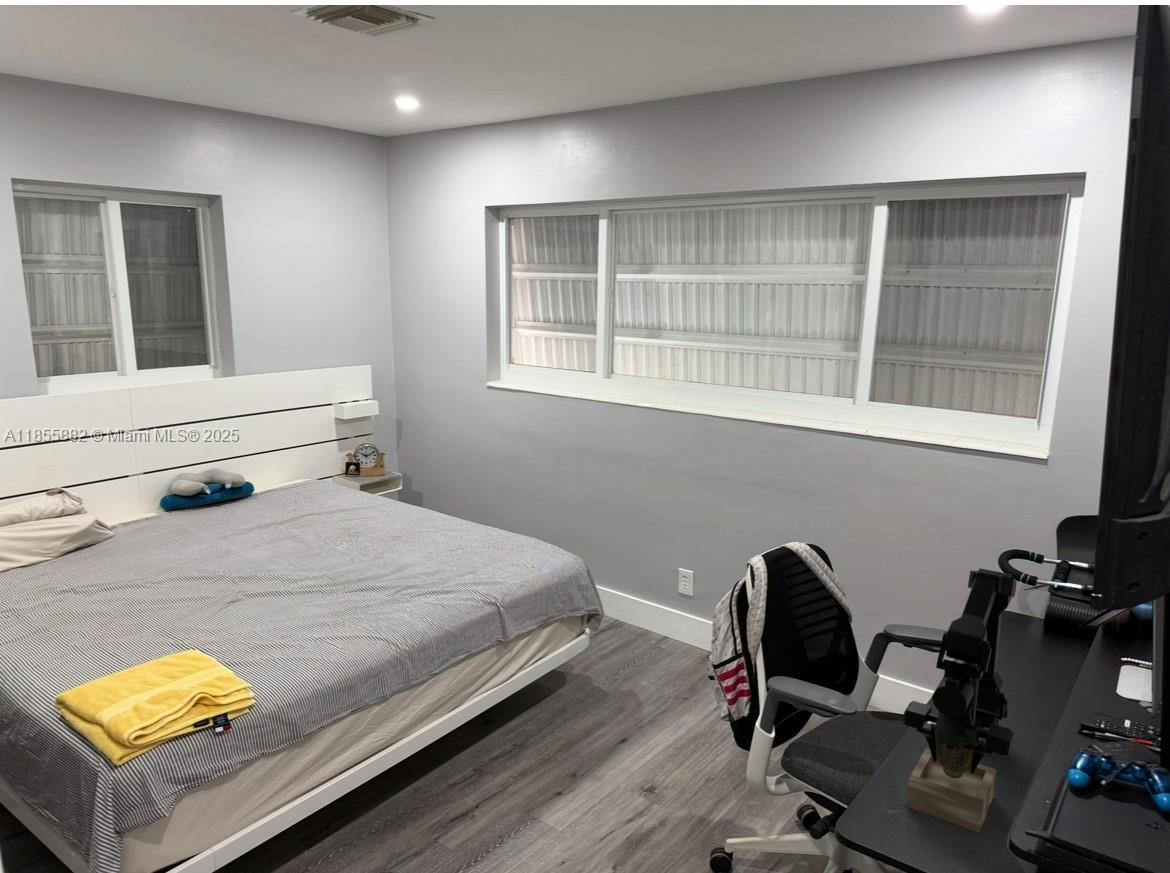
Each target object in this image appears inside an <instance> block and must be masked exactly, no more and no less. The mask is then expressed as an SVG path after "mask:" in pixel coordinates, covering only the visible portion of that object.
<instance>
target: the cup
mask: <svg viewBox="0 0 1170 873" xmlns="http://www.w3.org/2000/svg"><path fill="white" fill-rule="evenodd" d="M977 744H978V743H977V740H976V742H975V745H972V744H968V745H965V744H964V746H963V748H961V749H955V748H953V747H951V746H948V745H945V744H940V743H938V742H937V741H936V754H937V758H938V761H939V762H940V764H941V765H942V766H943V771H944V773H945V774H946V775H947V776H949V777H951V778H960V777H962V776H963V774H964V771H966V770H968V769H969V768H970V767H971V765H972V762H973V758H974V754H975V748H976V746H977Z"/></svg>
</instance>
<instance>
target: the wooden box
mask: <svg viewBox="0 0 1170 873" xmlns="http://www.w3.org/2000/svg"><path fill="white" fill-rule="evenodd" d="M971 766H972V765H971ZM996 775H997V769H995V768H993V767H992V768H991V767H989V766H986V765H983V764H981V763H980V764H978V766H977V768H976V769H975V771H974V773H973V774H971V767H970V768H969V769H968V770H966V771H964V774H963V776H962V777H960V778H951V777H949V776H947V775H946V774H945V773H944V771H943V766H942V765H941V764H940V762H939V761H938V758H937V761H936V762H934V761H933V758H932V754H931V751H930V748H929V747H927V746H926V747H925V749H924V751H923V753H922V754H921V756H920V758H919V760H918V761H917V763H916V765H915V767H914V769H913V770H912V772H911V774H910V775H909V777H908V784H907V785H908V786H907V795H906V796H907V797H906V807H908V808H910V809H913V810H915V811H918V812H921V813H924V814H926V815H929V816H931V817H935V818H938V819H940V820H942V821H945V822H948V823H951V824H954V825H956V826H958V827H962V828H965V829H967V830H969V831H973V832H975V833H978V834H980V833H981V830H982V828H983V826H984V822H985V820H986V817H987V814H988V812H989V809H990V806H991V804H992V801H993V799H994V795H995V786H996V785H995V784H996Z"/></svg>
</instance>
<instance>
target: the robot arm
mask: <svg viewBox="0 0 1170 873" xmlns="http://www.w3.org/2000/svg"><path fill="white" fill-rule="evenodd" d="M1017 583H1018V582H1017V580H1016V579H1015V578H1014V576H1012V574H1011V573H1006V572H1001V571H996V570H992V569H991V570H990V569H986V568H978V570H970V572H969V577H968V583H967V588H969V589H970V592H969V594H968V597H967V600H966V601H965V602H966V603H965V605H964V608H963V611H962V614H961V616H960V617H958V618H957V619H954V620H952V621H951V622H950V625H949V626H948V627H949V628H947V631H944V632H943V635H942V637H941V638H942V639H941V643H940V648H939V652H938V656H937V661H936V666H935V668H936V669H940V670H943V671H944V673H943V677H942V679H941V680H940V682H939V684H938V685H937V687H936V688H935V690H934V691H933V694H932V703H933V706H934V707H935V709H936V710H937V711H938V714H935V713H932V709H933V707H932V705H929V704H925V703H923V702H920V701H916V700H912V701H911V702H909V704H908V705H907V707H906V708H905V709H904V712H903V717H902V718H903V719H902V723H903V725H905V726H908V727H911V728H914V729H916V731H917V732H918V733H919V734H920V733H921V734H922V735H923V736H924V737H925V739H926V743H927V744H928V748H930V751H931V754H932V758H933V761H934V762H936V761H937V754H936V741H937V742H938V743H940V744H945V745H948V746H951V747H953V748H955V749H961V748H963V746H964V744H965V745H968V744H972V745H975V742H976V740H977V743H978V744H977V746H976V748H975V754H974V758H973V762H972V766H971V774H973V773H974V771H975V769H976V768H977V766H978V764H979V763H980V762H981V760H982V759H983V758H984V757H985V756H986V755H993V754H997V755H1001V756H1004V757H1006V756H1009V755H1010V752H1011V750H1012V747H1013V745H1014V740H1015V733H1014V731H1013V730H1012V729H1011V728H1007V727H1004V726H1001V725H999V721H1002V720H1003V719H1008V716H1009V700H1007V695H1006V693H1005V692H1004V681H1003V678H1001V676H1000V674H999V672H998V671H997V670H998V669H997V667H998V661H999V660H998V658H999V648H1000V647H999V646H1000V637H1001V629H1002V628H1001V626H1002V618H1003V617H1002V614H1003V612H1004V611H1005V610H1006V609H1007V608H1008V607H1009V605H1010V603H1011V601H1012V598H1014V597H1015V596H1016V592H1017V591H1016V590H1017V585H1018V584H1017ZM945 656H946V658H949V659H953V660H949V659H944V658H945Z"/></svg>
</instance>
